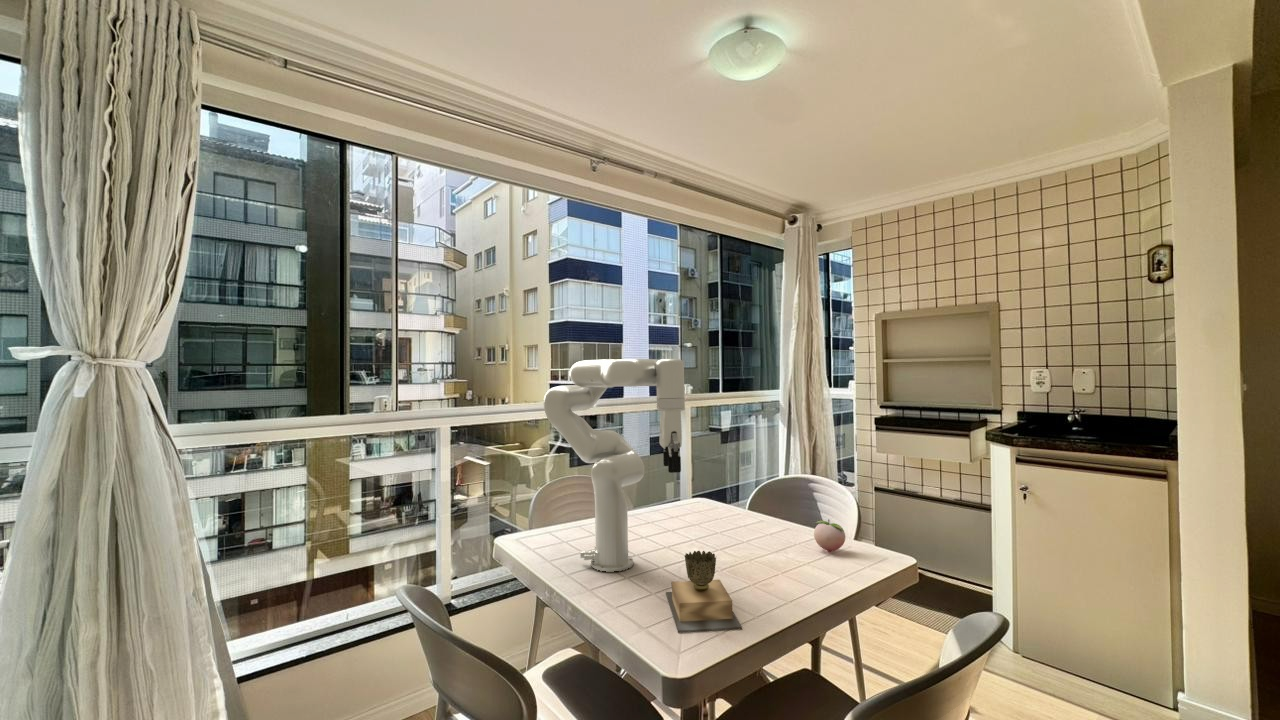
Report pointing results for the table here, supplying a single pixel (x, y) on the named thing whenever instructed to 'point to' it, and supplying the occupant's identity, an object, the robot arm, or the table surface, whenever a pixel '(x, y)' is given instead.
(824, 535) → the decorative fruit
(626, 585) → the table surface
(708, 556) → the cup
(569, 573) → the table surface
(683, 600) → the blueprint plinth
